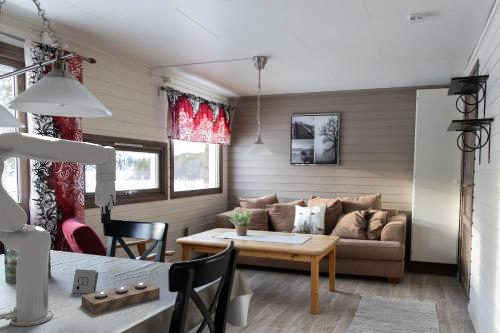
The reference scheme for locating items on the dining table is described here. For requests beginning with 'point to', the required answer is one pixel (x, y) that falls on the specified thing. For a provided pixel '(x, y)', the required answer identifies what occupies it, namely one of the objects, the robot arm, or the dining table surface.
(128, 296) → the knob mount
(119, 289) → the knob mid
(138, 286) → the knob far
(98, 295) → the knob near
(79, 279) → the electrical switch
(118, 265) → the dining table surface
